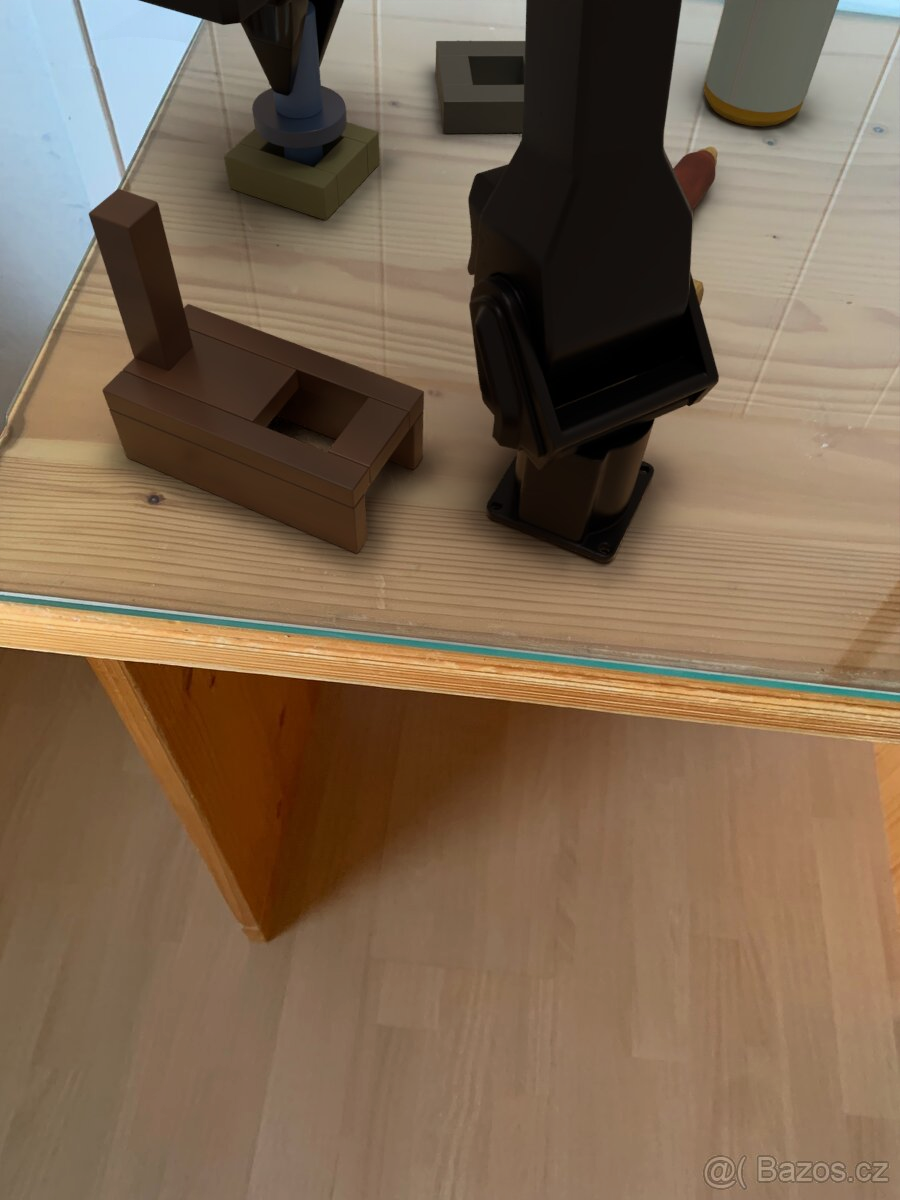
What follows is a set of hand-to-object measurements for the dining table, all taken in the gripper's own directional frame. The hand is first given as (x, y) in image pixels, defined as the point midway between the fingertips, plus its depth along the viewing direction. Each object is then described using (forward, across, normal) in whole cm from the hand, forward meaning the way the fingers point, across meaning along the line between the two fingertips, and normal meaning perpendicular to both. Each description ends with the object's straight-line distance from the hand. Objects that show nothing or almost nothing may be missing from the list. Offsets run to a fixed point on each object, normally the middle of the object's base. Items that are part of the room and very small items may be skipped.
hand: (296, 80), depth 55 cm
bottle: (+6, -23, +23) cm, 33 cm away
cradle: (+6, 0, 0) cm, 6 cm away
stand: (+6, +22, +11) cm, 25 cm away
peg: (+6, 0, 0) cm, 6 cm away
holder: (+6, -14, +7) cm, 17 cm away
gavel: (+6, -3, +22) cm, 23 cm away
